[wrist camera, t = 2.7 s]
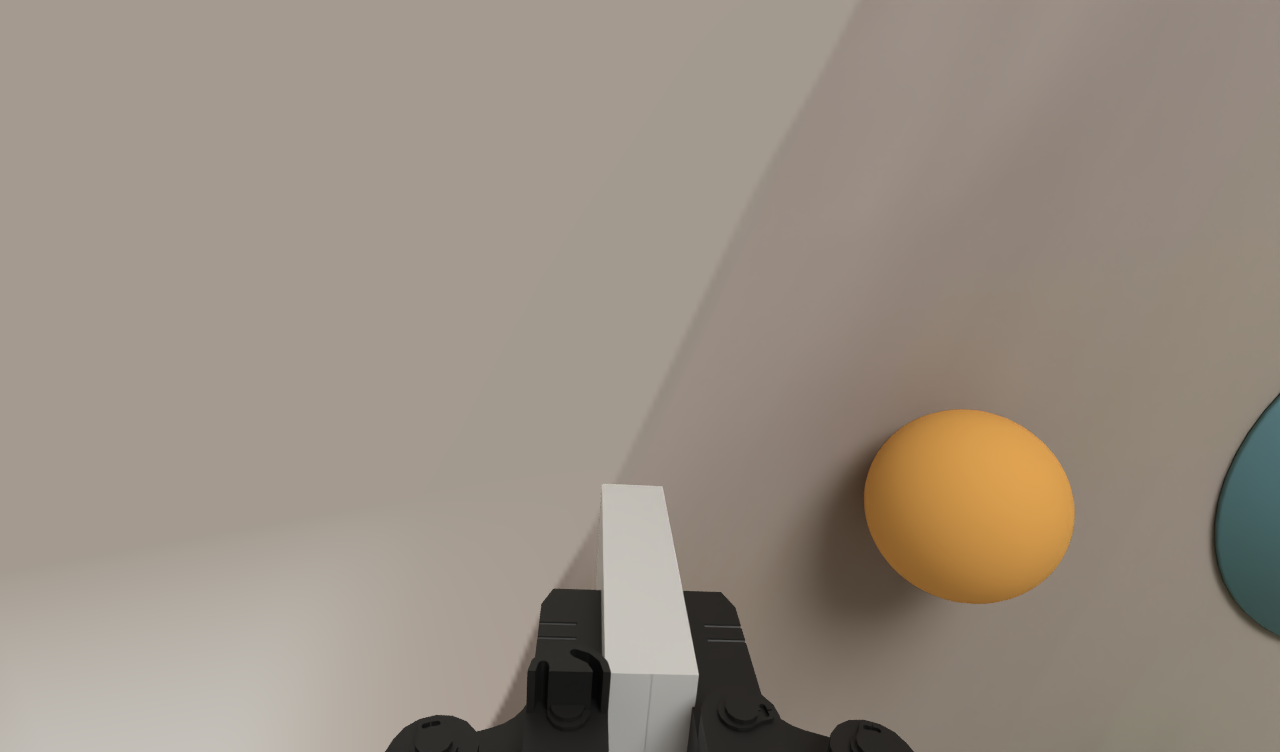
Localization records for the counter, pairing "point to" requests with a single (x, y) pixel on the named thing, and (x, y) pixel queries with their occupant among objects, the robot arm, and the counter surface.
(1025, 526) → the ball
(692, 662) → the robot arm
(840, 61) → the counter surface
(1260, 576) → the teal ellipsoid
